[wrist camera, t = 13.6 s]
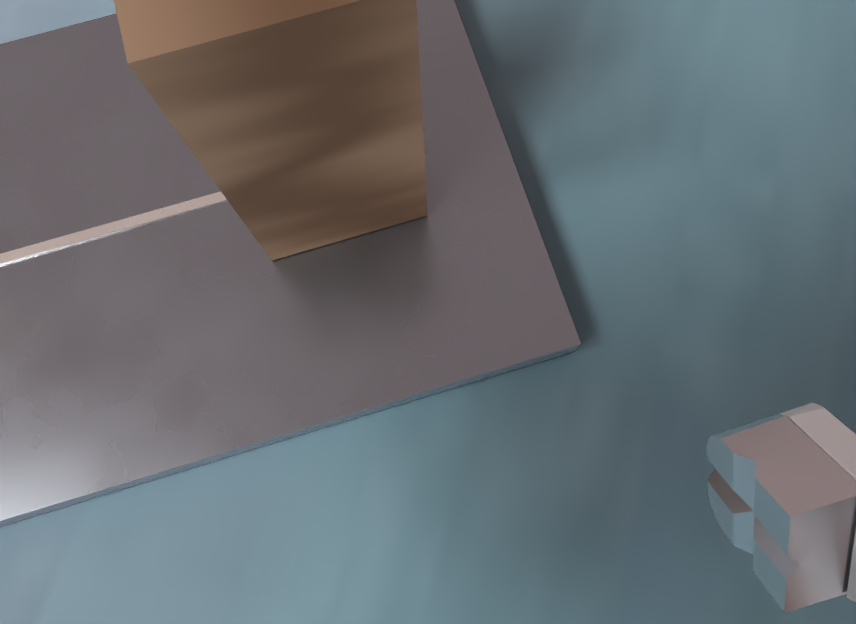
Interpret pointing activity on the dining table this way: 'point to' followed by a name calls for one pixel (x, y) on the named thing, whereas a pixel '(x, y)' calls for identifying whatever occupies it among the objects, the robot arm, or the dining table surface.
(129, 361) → the bolt plate
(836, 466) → the robot arm
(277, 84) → the walnut peg
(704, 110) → the dining table surface
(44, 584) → the dining table surface
